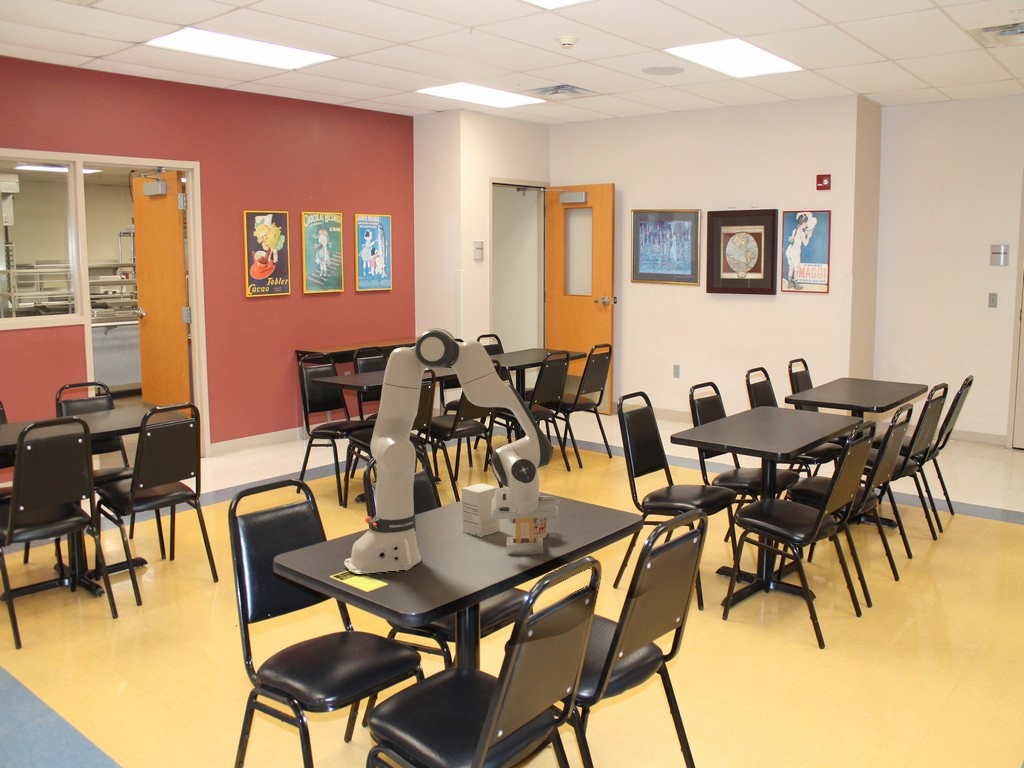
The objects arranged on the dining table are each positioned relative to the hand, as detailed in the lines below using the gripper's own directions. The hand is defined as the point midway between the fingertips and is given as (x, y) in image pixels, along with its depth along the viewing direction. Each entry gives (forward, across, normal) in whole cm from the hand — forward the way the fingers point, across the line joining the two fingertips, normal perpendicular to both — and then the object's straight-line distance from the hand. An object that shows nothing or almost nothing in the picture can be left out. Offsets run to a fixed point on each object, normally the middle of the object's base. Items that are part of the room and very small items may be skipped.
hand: (524, 521), depth 270 cm
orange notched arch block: (+4, 0, +5) cm, 7 cm away
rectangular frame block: (+6, 0, +7) cm, 9 cm away
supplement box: (+20, +14, -7) cm, 26 cm away
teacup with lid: (+17, -4, -4) cm, 18 cm away
